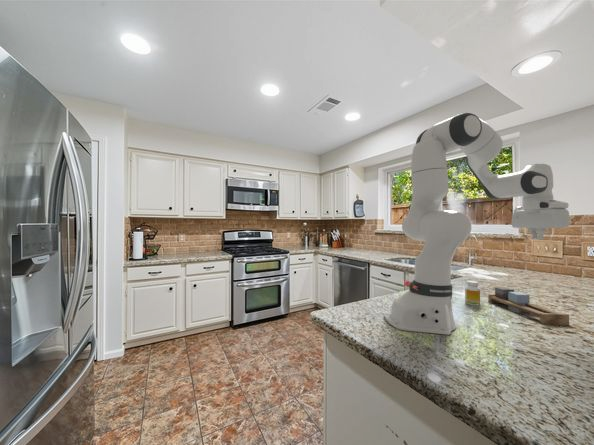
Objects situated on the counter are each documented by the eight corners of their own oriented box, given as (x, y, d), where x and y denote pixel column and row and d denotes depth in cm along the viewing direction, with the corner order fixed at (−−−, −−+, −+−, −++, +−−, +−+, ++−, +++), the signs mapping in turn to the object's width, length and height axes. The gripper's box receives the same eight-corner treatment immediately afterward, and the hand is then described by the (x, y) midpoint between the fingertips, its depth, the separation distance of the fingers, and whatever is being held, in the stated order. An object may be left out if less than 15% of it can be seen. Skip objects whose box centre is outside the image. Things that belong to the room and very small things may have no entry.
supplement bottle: (482, 306, 102) (482, 283, 103) (468, 305, 104) (468, 282, 104) (476, 302, 108) (476, 280, 108) (462, 301, 109) (462, 279, 109)
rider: (517, 305, 97) (517, 294, 97) (508, 302, 101) (508, 291, 101) (529, 306, 97) (529, 294, 97) (520, 302, 101) (520, 292, 101)
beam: (543, 324, 84) (543, 304, 84) (488, 301, 109) (488, 286, 109) (569, 324, 84) (569, 304, 84) (508, 302, 109) (508, 286, 109)
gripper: (507, 207, 107) (507, 238, 107) (556, 202, 87) (555, 241, 87) (521, 207, 107) (521, 238, 107) (573, 203, 87) (573, 241, 86)
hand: (537, 239), depth 97 cm, fingers closed
